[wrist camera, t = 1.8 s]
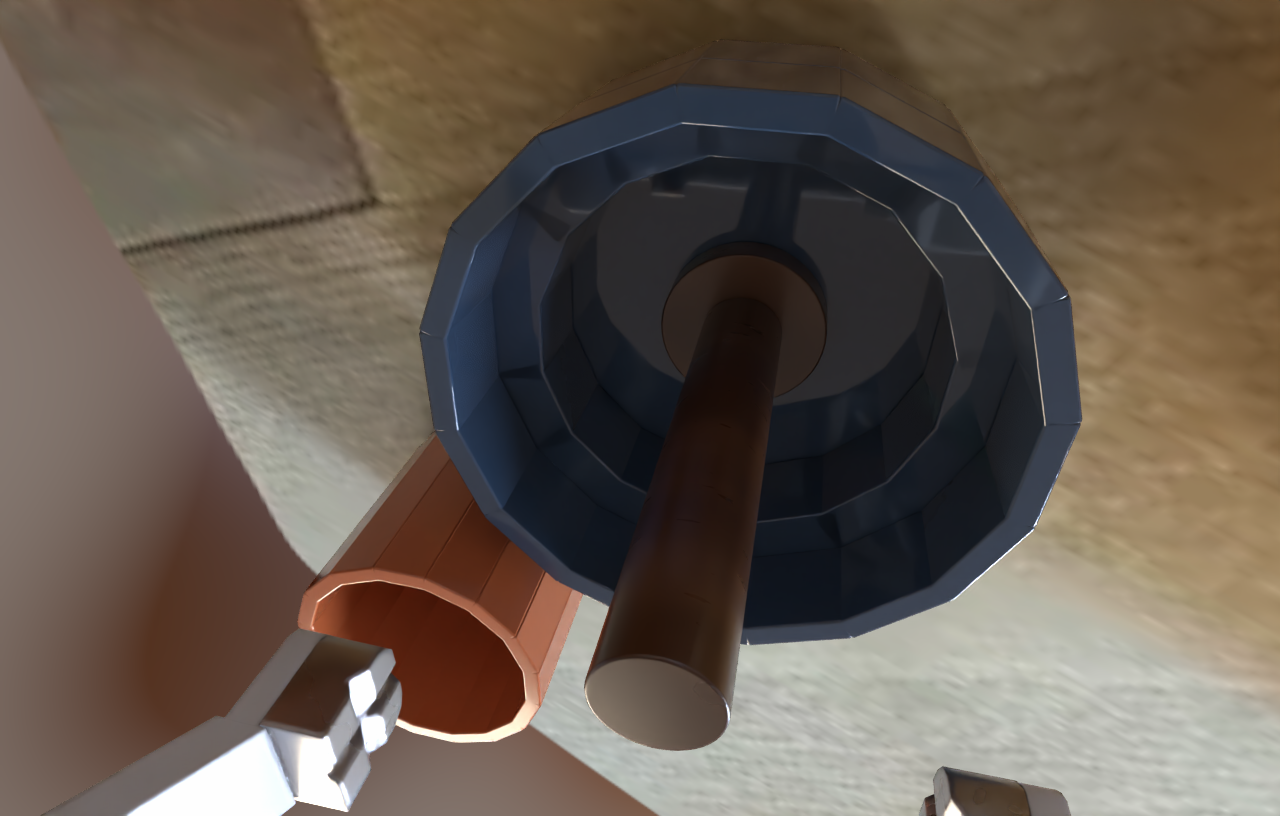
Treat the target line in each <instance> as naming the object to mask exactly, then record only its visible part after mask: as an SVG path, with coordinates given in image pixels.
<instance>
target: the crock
mask: <svg viewBox="0 0 1280 816" xmlns="http://www.w3.org/2000/svg"><path fill="white" fill-rule="evenodd" d="M582 596H583V594H581V593H579V592H577V591H575V590H573V589H571V588H569V587H567V586H565V585H563V584H561V583H559V582H558V581H555V580H554V579H553V578H552V577H551V576H550V575H549V574H548V573H546V572H545V571H544V570H543V569H542V568H541V567H540V566H539V565H538V564H536V563H535V562H534V561H533V560H532V559H531V558H530V557H529V556H527V555H526V554H525V553H524V552H523V551H522V550H521V549H520V548H518V547H517V546H516V545H515V544H514V543H513V542H512V541H511V540H509V539H508V538H507V537H506V536H505V535H504V534H503V533H502V532H500V531H499V530H498V529H497V528H496V527H495V526H494V525H493V524H492V523H490V522H489V521H488V520H487V519H486V518H485V517H484V515H483V514H482V512H481V510H480V509H479V507H478V505H477V504H476V502H475V500H474V499H473V497H472V495H471V493H470V492H469V490H468V488H467V487H466V485H465V483H464V481H463V480H462V478H461V476H460V475H459V473H458V471H457V469H456V468H455V466H454V464H453V463H452V461H451V459H450V457H449V456H448V454H447V452H446V451H445V449H444V447H443V445H442V444H441V442H440V440H439V439H438V437H437V435H436V433H435V431H434V432H433V433H432V434H431V435H430V436H429V437H428V439H427V440H426V441H425V442H424V443H423V444H422V445H421V446H419V447H418V449H417V450H416V451H415V452H414V454H413V455H412V456H411V458H410V459H409V460H408V461H407V463H406V464H405V465H404V466H403V468H402V469H401V470H400V471H399V473H398V474H397V475H396V477H395V478H394V479H393V480H392V482H391V483H390V484H389V485H388V487H387V488H386V489H385V490H384V492H383V493H382V494H381V496H380V497H379V498H378V499H377V501H376V502H375V503H374V504H373V506H372V507H371V508H370V509H369V511H368V512H367V513H366V515H365V516H364V517H363V518H362V520H361V521H360V522H359V523H358V525H357V526H356V527H355V528H354V530H353V531H352V532H351V534H350V535H349V536H348V537H347V539H346V540H345V541H344V542H343V544H342V545H341V546H340V547H339V549H338V550H337V551H336V553H335V554H334V555H333V556H332V558H331V559H330V560H329V561H328V563H327V564H326V565H325V566H324V568H323V569H322V570H321V572H320V573H319V574H318V575H317V577H316V578H315V579H314V580H313V582H312V583H311V584H310V586H309V587H308V588H307V589H306V591H305V592H304V595H303V599H302V603H301V607H300V611H299V615H298V619H297V621H298V626H299V629H304V630H309V631H313V632H318V633H323V634H328V635H332V636H335V637H339V638H344V639H348V640H352V641H357V642H361V643H366V644H370V645H375V646H379V647H384V648H388V649H392V651H393V655H394V658H395V662H396V664H395V666H394V667H393V669H392V671H391V673H392V674H393V675H394V676H395V677H396V678H397V679H398V680H399V681H400V684H401V688H402V705H401V709H400V712H399V715H398V719H397V722H396V725H397V726H400V727H402V728H404V729H406V730H408V731H410V732H413V733H417V734H422V735H426V736H430V737H434V738H438V739H442V740H447V741H451V742H457V743H458V742H494V741H498V740H500V739H502V738H505V737H507V736H509V735H512V734H514V733H517V732H519V731H521V730H524V729H525V728H526V727H527V726H528V724H529V723H530V721H531V720H532V718H533V717H534V715H535V714H536V712H537V711H538V709H539V708H540V706H541V704H542V702H543V699H544V697H545V694H546V691H547V689H548V686H549V683H550V681H551V678H552V675H553V673H554V670H555V667H556V665H557V662H558V659H559V657H560V654H561V651H562V649H563V646H564V643H565V641H566V638H567V635H568V633H569V630H570V627H571V625H572V622H573V619H574V617H575V614H576V612H577V609H578V606H579V604H580V601H581V598H582Z"/></svg>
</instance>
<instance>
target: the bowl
mask: <svg viewBox="0 0 1280 816" xmlns="http://www.w3.org/2000/svg"><path fill="white" fill-rule="evenodd" d="M735 242H755V243H761V244H766V245H770V246H773V247H776V248H778V249H781V250H783V251H785V252H787V253H789V254H790V255H792V256H794V257H795V258H796V259H798V260H799V261H800V262H801V263H803V264H804V265H805V266H806V267H807V268H808V269H809V270H810V272H811V273H812V274H813V275H814V277H815V278H816V280H817V281H818V283H819V285H820V287H821V289H822V291H823V294H824V297H825V301H826V306H827V338H826V344H825V348H824V352H823V354H822V356H821V359H820V361H819V363H818V364H817V366H816V368H815V369H814V370H813V372H812V373H811V374H810V375H809V376H808V378H806V379H805V380H804V381H803V382H802V383H801V384H800V385H798V386H797V387H795V388H794V389H792V390H791V391H789V392H787V393H785V394H783V395H781V396H778V397H775V398H773V406H772V413H771V421H770V428H769V435H768V443H767V450H766V457H765V465H764V472H763V480H762V487H761V494H760V502H759V509H758V517H757V524H756V531H755V539H754V546H753V554H752V561H751V568H750V576H749V583H748V590H747V598H746V605H745V613H744V620H743V627H742V635H741V642H740V644H743V645H747V644H749V645H760V644H775V643H789V642H804V641H818V640H833V639H848V638H851V637H853V638H855V637H857V636H860V635H863V634H865V633H868V632H871V631H873V630H876V629H878V628H881V627H884V626H886V625H889V624H892V623H894V622H897V621H900V620H902V619H905V618H907V617H910V616H913V615H915V614H918V613H921V612H923V611H926V610H929V609H931V608H934V607H936V606H939V605H942V604H944V603H947V602H950V601H951V599H952V600H954V599H955V598H956V597H957V596H959V595H960V594H961V593H962V592H963V591H964V590H965V589H967V588H968V587H969V586H970V585H971V584H972V583H974V582H975V581H976V580H977V579H978V578H979V577H980V576H982V575H983V574H984V573H985V572H986V571H987V570H988V569H990V568H991V567H992V566H993V565H994V564H995V563H996V562H998V561H999V560H1000V559H1001V558H1002V557H1003V556H1005V555H1006V554H1007V553H1008V552H1009V551H1010V550H1011V549H1013V548H1014V547H1015V546H1016V545H1017V544H1018V543H1019V542H1021V541H1022V540H1023V539H1024V538H1025V537H1026V536H1028V535H1029V534H1030V533H1031V532H1032V531H1033V530H1034V529H1035V526H1036V525H1037V523H1038V520H1039V518H1040V516H1041V514H1042V511H1043V509H1044V507H1045V505H1046V502H1047V500H1048V498H1049V496H1050V493H1051V491H1052V489H1053V486H1054V484H1055V482H1056V480H1057V477H1058V475H1059V473H1060V471H1061V468H1062V466H1063V464H1064V462H1065V459H1066V457H1067V455H1068V452H1069V450H1070V448H1071V446H1072V443H1073V441H1074V439H1075V437H1076V434H1077V432H1078V430H1079V428H1080V425H1081V424H1080V422H1081V421H1082V412H1081V401H1080V391H1079V380H1078V369H1077V359H1076V348H1075V338H1074V327H1073V316H1072V306H1071V298H1070V296H1069V294H1068V290H1067V289H1066V287H1065V286H1064V284H1063V282H1062V281H1061V279H1060V277H1059V276H1058V274H1057V272H1056V271H1055V269H1054V267H1053V266H1052V264H1051V263H1050V261H1049V259H1048V258H1047V256H1046V254H1045V253H1044V251H1043V249H1042V248H1041V246H1040V244H1039V243H1038V241H1037V239H1036V238H1035V237H1034V235H1033V233H1032V231H1031V230H1030V228H1029V226H1028V225H1027V223H1026V221H1025V220H1024V218H1023V217H1022V215H1021V213H1020V212H1019V210H1018V208H1017V207H1016V205H1015V203H1014V202H1013V200H1012V198H1011V197H1010V195H1009V194H1008V193H1007V191H1006V190H1005V188H1004V187H1003V185H1002V184H1001V182H1000V181H999V179H998V178H997V177H996V175H995V174H994V172H993V171H992V169H991V168H990V166H989V165H988V164H987V162H986V161H985V159H984V158H983V156H982V155H981V153H980V152H979V151H978V149H977V148H976V146H975V145H974V143H973V142H972V140H971V139H970V137H969V136H968V135H967V133H966V132H965V130H964V129H963V127H962V126H961V124H960V123H959V122H958V120H957V119H956V117H955V116H954V114H953V113H952V111H951V110H950V109H948V108H947V107H946V105H945V104H943V103H941V102H939V101H938V100H936V99H934V98H932V97H930V96H928V95H927V94H925V93H923V92H921V91H919V90H918V89H916V88H914V87H912V86H910V85H908V84H907V83H905V82H903V81H901V80H899V79H898V78H896V77H894V76H892V75H890V74H889V73H887V72H885V71H883V70H881V69H879V68H878V67H876V66H874V65H872V64H870V63H869V62H867V61H865V60H863V59H861V58H860V57H858V56H856V55H854V54H852V53H850V52H849V51H847V50H845V49H840V48H839V47H832V46H816V45H801V44H785V43H769V42H754V41H738V40H723V39H720V40H718V41H712V42H710V43H707V44H704V45H702V46H699V47H697V48H694V49H691V50H689V51H686V52H683V53H681V54H678V55H676V56H673V57H670V58H668V59H665V60H663V61H660V62H657V63H655V64H652V65H650V66H647V67H644V68H642V69H639V70H636V71H634V72H631V73H629V74H626V75H623V76H621V77H618V78H616V79H613V80H611V81H610V82H609V83H607V84H606V85H604V86H603V87H601V88H600V89H599V90H597V91H596V92H595V93H593V94H592V95H590V96H589V97H588V98H586V99H585V100H584V101H582V102H581V103H579V104H578V105H577V106H575V107H574V108H572V109H571V110H570V111H568V112H567V113H566V114H564V115H563V116H561V117H560V118H559V119H557V120H556V121H555V122H553V123H552V124H551V125H549V126H548V127H546V128H545V129H544V130H542V131H541V132H540V133H538V134H537V135H535V136H534V137H533V138H532V139H531V140H530V141H529V142H528V143H527V144H526V145H525V147H524V148H523V149H522V150H521V151H520V152H519V153H518V154H517V155H516V156H515V157H514V158H513V159H512V160H511V161H510V162H509V163H508V164H507V165H506V166H505V168H504V169H503V170H502V171H501V172H500V173H499V174H498V175H497V176H496V177H495V178H494V179H493V180H492V181H491V182H490V183H489V184H488V185H487V186H486V188H485V189H484V190H483V191H482V192H481V193H480V194H479V195H478V196H477V197H476V198H475V199H474V200H473V201H472V202H471V203H470V204H469V205H468V206H467V207H466V209H465V210H464V211H463V212H462V213H461V214H460V215H459V216H458V217H457V218H456V219H455V220H454V221H453V222H452V225H451V227H450V228H449V230H448V233H447V237H446V240H445V244H444V247H443V250H442V254H441V257H440V260H439V264H438V267H437V271H436V274H435V277H434V281H433V284H432V287H431V291H430V294H429V298H428V301H427V304H426V308H425V311H424V314H423V318H422V321H421V325H420V333H419V335H420V342H421V348H422V355H423V361H424V368H425V374H426V381H427V387H428V394H429V400H430V407H431V413H432V420H433V426H434V429H435V433H436V435H437V437H438V439H439V440H440V442H441V444H442V445H443V447H444V449H445V451H446V452H447V454H448V456H449V457H450V459H451V461H452V463H453V464H454V466H455V468H456V469H457V471H458V473H459V475H460V476H461V478H462V480H463V481H464V483H465V485H466V487H467V488H468V490H469V492H470V493H471V495H472V497H473V499H474V500H475V502H476V504H477V505H478V507H479V509H480V510H481V512H482V514H483V515H484V517H485V518H486V519H487V520H488V521H489V522H490V523H492V524H493V525H494V526H495V527H496V528H497V529H498V530H499V531H500V532H502V533H503V534H504V535H505V536H506V537H507V538H508V539H509V540H511V541H512V542H513V543H514V544H515V545H516V546H517V547H518V548H520V549H521V550H522V551H523V552H524V553H525V554H526V555H527V556H529V557H530V558H531V559H532V560H533V561H534V562H535V563H536V564H538V565H539V566H540V567H541V568H542V569H543V570H544V571H545V572H546V573H548V574H549V575H550V576H551V577H552V578H553V579H554V580H555V581H558V582H559V583H561V584H563V585H565V586H567V587H569V588H571V589H573V590H575V591H577V592H579V593H581V594H583V595H585V596H588V597H590V598H592V599H594V600H596V601H598V602H600V603H602V604H604V605H606V606H608V607H610V604H611V601H612V598H613V595H614V592H615V589H616V586H617V583H618V580H619V577H620V574H621V571H622V568H623V565H624V562H625V559H626V556H627V553H628V550H629V547H630V544H631V541H632V538H633V534H634V531H635V528H636V525H637V522H638V519H639V516H640V513H641V510H642V507H643V504H644V501H645V498H646V495H647V492H648V489H649V486H650V483H651V480H652V477H653V474H654V471H655V468H656V465H657V462H658V459H659V456H660V453H661V450H662V447H663V444H664V441H665V438H666V435H667V432H668V429H669V426H670V423H671V420H672V417H673V414H674V411H675V408H676V405H677V402H678V399H679V396H680V393H681V390H682V387H683V384H684V381H685V377H684V376H683V375H682V374H681V373H680V372H679V371H678V370H677V368H676V367H675V366H674V364H673V363H672V361H671V359H670V357H669V355H668V353H667V351H666V348H665V345H664V342H663V337H662V331H661V320H662V312H663V308H664V305H665V302H666V300H667V297H668V295H669V293H670V291H671V288H672V286H673V284H674V282H675V280H676V278H677V277H678V275H679V274H680V272H681V271H682V270H683V269H684V268H685V266H686V265H687V264H689V263H690V262H691V261H692V260H693V259H694V258H696V257H697V256H699V255H700V254H702V253H703V252H705V251H707V250H709V249H711V248H714V247H717V246H720V245H724V244H729V243H735Z"/></svg>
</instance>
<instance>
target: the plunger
mask: <svg viewBox="0 0 1280 816" xmlns="http://www.w3.org/2000/svg"><path fill="white" fill-rule="evenodd" d="M661 331H662V337H663V342H664V345H665V348H666V351H667V353H668V355H669V357H670V359H671V361H672V363H673V364H674V366H675V367H676V368H677V370H678V371H679V372H680V373H681V374H682V375H683V376H684V377H685V381H684V384H683V387H682V390H681V393H680V396H679V399H678V402H677V405H676V408H675V411H674V414H673V417H672V420H671V423H670V426H669V429H668V432H667V435H666V438H665V441H664V444H663V447H662V450H661V453H660V456H659V459H658V462H657V465H656V468H655V471H654V474H653V477H652V480H651V483H650V486H649V489H648V492H647V495H646V498H645V501H644V504H643V507H642V510H641V513H640V516H639V519H638V522H637V525H636V528H635V531H634V534H633V538H632V541H631V544H630V547H629V550H628V553H627V556H626V559H625V562H624V565H623V568H622V571H621V574H620V577H619V580H618V583H617V586H616V589H615V592H614V595H613V598H612V601H611V604H610V607H609V610H608V613H607V616H606V619H605V622H604V625H603V628H602V631H601V634H600V637H599V640H598V643H597V646H596V649H595V652H594V655H593V658H592V661H591V664H590V667H589V670H588V673H587V676H586V680H585V686H584V689H585V697H586V700H587V703H588V705H589V707H590V709H591V710H592V712H593V713H594V714H595V716H596V717H597V718H598V719H599V720H600V721H601V722H602V723H603V724H604V725H606V726H607V727H608V728H609V729H611V730H612V731H614V732H615V733H617V734H619V735H620V736H622V737H624V738H626V739H628V740H631V741H633V742H635V743H638V744H641V745H644V746H648V747H652V748H656V749H662V750H674V751H681V750H691V749H697V748H701V747H704V746H706V745H709V744H711V743H712V742H714V741H716V740H717V739H718V738H719V737H721V735H722V734H723V733H724V732H725V730H726V728H727V727H728V725H729V721H730V716H731V709H732V701H733V694H734V687H735V679H736V672H737V664H738V657H739V650H740V642H741V635H742V627H743V620H744V613H745V605H746V598H747V590H748V583H749V576H750V568H751V561H752V554H753V546H754V539H755V531H756V524H757V517H758V509H759V502H760V494H761V487H762V480H763V472H764V465H765V457H766V450H767V443H768V435H769V428H770V421H771V413H772V406H773V398H775V397H778V396H781V395H783V394H785V393H787V392H789V391H791V390H792V389H794V388H795V387H797V386H798V385H800V384H801V383H802V382H803V381H804V380H805V379H806V378H808V376H809V375H810V374H811V373H812V372H813V370H814V369H815V368H816V366H817V364H818V363H819V361H820V359H821V356H822V354H823V352H824V348H825V344H826V338H827V306H826V301H825V297H824V294H823V291H822V289H821V287H820V285H819V283H818V281H817V280H816V278H815V277H814V275H813V274H812V273H811V272H810V270H809V269H808V268H807V267H806V266H805V265H804V264H803V263H801V262H800V261H799V260H798V259H796V258H795V257H794V256H792V255H790V254H789V253H787V252H785V251H783V250H781V249H778V248H776V247H773V246H770V245H766V244H761V243H755V242H735V243H729V244H724V245H720V246H717V247H714V248H711V249H709V250H707V251H705V252H703V253H702V254H700V255H699V256H697V257H696V258H694V259H693V260H692V261H691V262H690V263H689V264H687V265H686V266H685V268H684V269H683V270H682V271H681V272H680V274H679V275H678V277H677V278H676V280H675V282H674V284H673V286H672V288H671V291H670V293H669V295H668V297H667V300H666V302H665V305H664V308H663V312H662V320H661Z"/></svg>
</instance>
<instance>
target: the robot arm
mask: <svg viewBox="0 0 1280 816" xmlns="http://www.w3.org/2000/svg"><path fill="white" fill-rule="evenodd" d="M395 664H396V662H395V658H394V655H393V651H392V649H388V648H384V647H379V646H375V645H370V644H366V643H361V642H357V641H352V640H348V639H344V638H339V637H335V636H332V635H328V634H323V633H318V632H313V631H309V630H304V629H298V630H297V631H295V632H294V633H292V634H291V635H290V636H288V637H287V638H286V640H285V641H284V642H283V644H282V645H281V646H280V647H279V649H278V650H277V651H276V653H275V654H274V655H273V656H272V658H271V659H270V660H269V661H268V663H267V664H266V666H265V667H264V668H263V669H262V671H261V672H260V673H259V674H258V676H257V677H256V678H255V679H254V681H253V682H252V683H251V685H250V686H249V687H248V689H247V690H246V691H245V692H244V694H243V695H242V696H241V697H240V699H239V700H238V701H237V703H236V704H235V705H234V706H233V708H232V709H231V710H230V712H229V713H228V714H227V715H226V717H225V718H224V717H219V716H215V717H213V718H211V719H210V720H208V721H206V722H205V723H203V724H201V725H199V726H197V727H196V728H194V729H192V730H191V731H189V732H187V733H185V734H183V735H181V736H180V737H178V738H176V739H175V740H173V741H171V742H169V743H167V744H166V745H164V746H162V747H160V748H159V749H157V750H155V751H153V752H152V753H150V754H148V755H146V756H145V757H143V758H141V759H139V760H137V761H136V762H134V763H132V764H130V765H129V766H127V767H125V768H123V769H122V770H120V771H118V772H116V773H115V774H113V775H111V776H109V777H108V778H106V779H104V780H102V781H101V782H99V783H97V784H95V785H94V786H92V787H90V788H88V789H86V790H85V791H83V792H81V793H79V794H78V795H76V796H74V797H73V798H70V799H69V800H67V801H65V802H63V803H62V804H60V805H58V806H56V807H55V808H53V809H51V810H49V811H48V812H46V813H44V814H42V815H41V816H281V815H282V814H283V813H285V812H286V811H287V810H288V809H290V808H291V807H292V806H293V805H295V803H296V802H295V800H298V801H303V802H307V803H312V804H316V805H321V806H325V807H330V808H334V809H339V810H344V811H348V810H349V809H350V807H351V805H352V803H353V801H354V800H355V798H356V796H357V794H358V793H359V791H360V789H361V787H362V785H363V783H364V782H365V780H366V778H367V776H368V775H369V772H370V771H371V764H370V756H369V754H370V753H371V752H373V751H375V750H376V749H378V748H379V747H380V746H382V745H384V744H385V743H386V742H387V740H388V738H389V736H390V734H391V733H392V731H393V729H394V727H395V725H396V722H397V719H398V715H399V712H400V709H401V705H402V688H401V684H400V681H399V680H398V679H397V678H396V677H395V676H394V675H393V674H392V673H391V671H392V669H393V667H394V666H395ZM933 786H934V794H933V795H931V796H929V797H926V798H925V799H924V802H923V804H922V807H921V810H920V812H919V816H1071V814H1070V810H1069V806H1068V803H1067V801H1066V799H1065V798H1064V796H1063V795H1062V793H1061V792H1059V791H1057V790H1054V789H1049V788H1044V787H1039V786H1034V785H1029V784H1024V783H1018V782H1017V781H1014V780H1009V779H1004V778H999V777H994V776H989V775H984V774H979V773H974V772H969V771H964V770H958V769H953V768H948V767H941V768H939V769H938V770H937V772H936V774H935V776H934V779H933Z"/></svg>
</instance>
